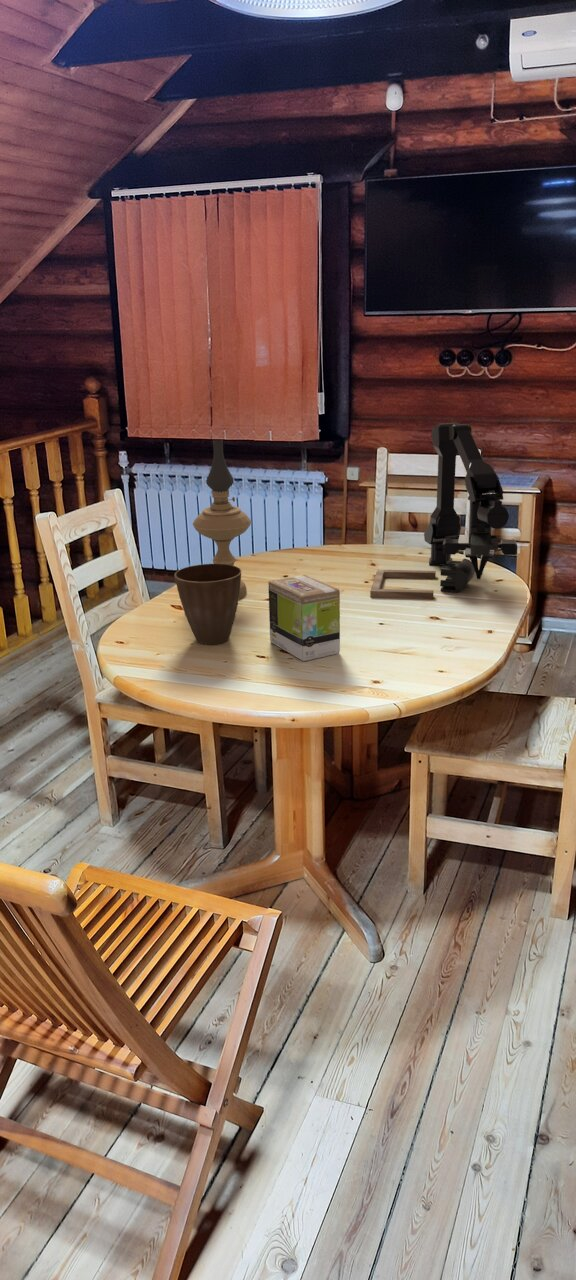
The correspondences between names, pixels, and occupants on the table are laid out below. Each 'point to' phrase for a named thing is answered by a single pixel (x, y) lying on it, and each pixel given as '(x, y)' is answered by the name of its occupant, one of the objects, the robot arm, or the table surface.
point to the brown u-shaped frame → (397, 593)
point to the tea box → (304, 617)
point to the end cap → (456, 575)
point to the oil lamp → (222, 512)
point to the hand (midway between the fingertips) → (478, 579)
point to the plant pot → (209, 599)
